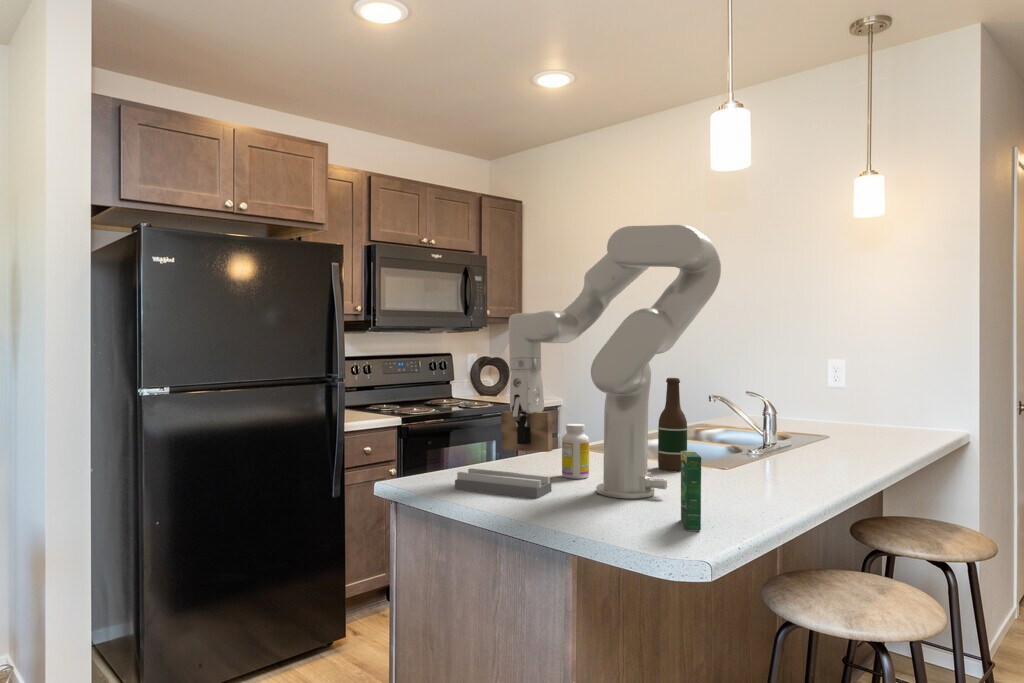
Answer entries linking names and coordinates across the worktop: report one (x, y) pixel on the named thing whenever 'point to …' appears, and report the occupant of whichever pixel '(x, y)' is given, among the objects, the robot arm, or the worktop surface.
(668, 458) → the beer bottle
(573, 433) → the supplement bottle
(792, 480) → the worktop surface
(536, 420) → the door panel
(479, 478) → the rail
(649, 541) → the worktop surface
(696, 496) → the coffee box
